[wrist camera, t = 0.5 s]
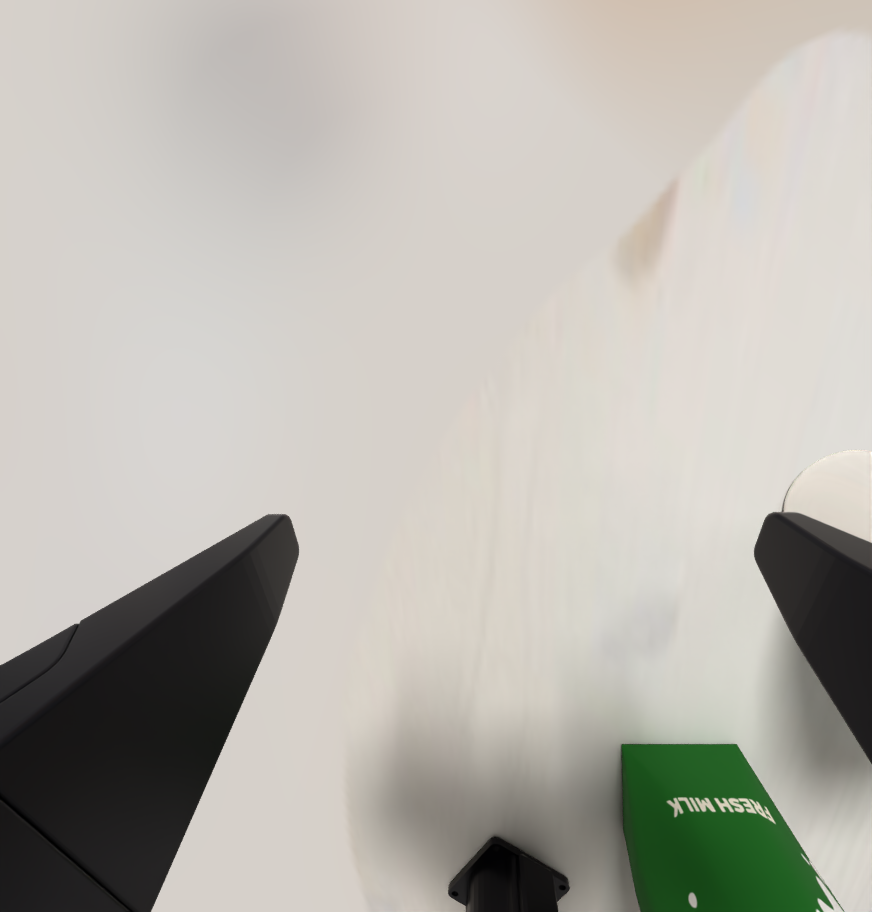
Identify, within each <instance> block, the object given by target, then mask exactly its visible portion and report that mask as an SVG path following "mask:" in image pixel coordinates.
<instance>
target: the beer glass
mask: <svg viewBox="0 0 872 912" xmlns="http://www.w3.org/2000/svg"><path fill="white" fill-rule="evenodd" d="M783 512H797V513H801V514H803V515H806V516H808V517H811V518H813V519H816V520H818V521H820V522H823V523H825V524H828V525H830V526H832V527H835V528H837V529H840V530H842V531H845V532H847V533H849V534H852V535H854V536H857V537H859V538H861V539H864V540H866V541H869V542H871V543H872V451H867V450H848V451H842V452H837V453H834V454H831V455H828V456H826V457H824V458H821V459H820V460H818V461H816V462H814V463H813V464H811V465H810V466H809V467H807V468H806V469H805V470H804V471H803V472H802V473H801V474H800V475H799V476H798V477H797V478H796V479H795V481H794V482H793V484H792V485H791V487H790V489H789V491H788V493H787V496H786V499H785V502H784V510H783Z"/></svg>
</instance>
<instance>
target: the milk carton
mask: <svg viewBox="0 0 872 912" xmlns="http://www.w3.org/2000/svg"><path fill="white" fill-rule="evenodd" d="M622 787H623V831H624V836H625V840H626V845H627V850H628V855H629V860H630V866H631V871H632V877H633V882H634V887H635V892H636V896H637V900H638V904H639V907H640V911H641V912H844V910H843V909H842V907H841V906H840V904H839V903H838V901H837V900H836V898H835V897H834V895H833V894H832V892H831V891H830V889H829V888H828V886H827V885H826V884H825V882H824V881H823V879H822V878H821V876H820V875H819V873H818V872H817V870H816V869H815V867H814V866H813V864H812V863H811V861H810V860H809V858H808V857H807V855H806V854H805V852H804V850H803V849H802V847H801V846H800V844H799V842H798V841H797V839H796V838H795V836H794V835H793V833H792V831H791V830H790V828H789V827H788V825H787V823H786V822H785V820H784V819H783V817H782V816H781V814H780V812H779V811H778V809H777V808H776V806H775V805H774V803H773V801H772V800H771V798H770V797H769V795H768V793H767V792H766V790H765V789H764V787H763V785H762V784H761V782H760V781H759V779H758V778H757V776H756V774H755V773H754V771H753V770H752V768H751V766H750V765H749V763H748V762H747V760H746V758H745V757H744V755H743V754H742V752H741V751H740V749H739V747H738V746H737V744H622Z"/></svg>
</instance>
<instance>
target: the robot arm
mask: <svg viewBox="0 0 872 912" xmlns="http://www.w3.org/2000/svg"><path fill="white" fill-rule="evenodd" d="M298 555H299V545H298V542H297V538H296V535H295V532H294V528H293V525H292V521H291V519H290V517H289V516H287V515H285V514H269V515H266V516H264V517H262V518H261V519H259V520H257V521H255V522H254V523H252V524H250V525H248V526H247V527H245V528H243V529H241V530H239V531H238V532H236V533H235V534H233V535H231V536H229V537H227V538H225V539H224V540H222V541H220V542H219V543H217V544H215V545H213V546H211V547H210V548H208V549H206V550H204V551H203V552H201V553H199V554H197V555H196V556H194V557H192V558H190V559H189V560H187V561H185V562H183V563H181V564H180V565H178V566H176V567H174V568H173V569H171V570H169V571H168V572H166V573H164V574H162V575H161V576H159V577H157V578H155V579H153V580H152V581H150V582H148V583H146V584H145V585H143V586H141V587H140V588H138V589H136V590H134V591H132V592H131V593H129V594H127V595H125V596H124V597H122V598H120V599H119V600H117V601H115V602H113V603H111V604H109V605H108V606H106V607H104V608H102V609H101V610H99V611H97V612H95V613H94V614H92V615H90V616H88V617H87V618H85V619H83V620H82V621H81V622H80V624H74V625H72V626H70V627H69V628H67V629H65V630H64V631H62V632H60V633H58V634H56V635H55V636H53V637H51V638H50V639H48V640H46V641H44V642H42V643H40V644H39V645H37V646H35V647H33V648H31V649H30V650H28V651H26V652H24V653H22V654H21V655H19V656H17V657H15V658H13V659H12V660H10V661H8V662H6V663H4V664H2V665H0V912H151V910H152V908H153V906H154V904H155V901H156V899H157V897H158V894H159V892H160V890H161V887H162V885H163V883H164V881H165V878H166V876H167V874H168V871H169V869H170V867H171V865H172V862H173V860H174V858H175V855H176V853H177V851H178V849H179V847H180V844H181V842H182V840H183V837H184V835H185V833H186V830H187V828H188V826H189V823H190V821H191V819H192V817H193V815H194V812H195V810H196V808H197V805H198V803H199V801H200V799H201V796H202V794H203V792H204V789H205V787H206V785H207V782H208V780H209V778H210V776H211V774H212V771H213V769H214V767H215V764H216V762H217V760H218V757H219V755H220V753H221V750H222V748H223V746H224V744H225V742H226V739H227V737H228V735H229V732H230V730H231V728H232V726H233V723H234V721H235V719H236V717H237V714H238V712H239V710H240V707H241V705H242V703H243V700H244V698H245V696H246V694H247V691H248V689H249V687H250V685H251V682H252V680H253V678H254V675H255V673H256V671H257V668H258V666H259V664H260V662H261V659H262V657H263V655H264V653H265V650H266V648H267V646H268V643H269V641H270V639H271V637H272V634H273V632H274V629H275V627H276V624H277V622H278V619H279V616H280V613H281V610H282V607H283V604H284V600H285V597H286V594H287V591H288V588H289V585H290V582H291V578H292V575H293V572H294V569H295V566H296V563H297V560H298ZM754 557H755V560H756V563H757V565H758V567H759V569H760V571H761V573H762V575H763V577H764V579H765V581H766V583H767V585H768V587H769V590H770V592H771V594H772V596H773V598H774V600H775V602H776V604H777V606H778V608H779V610H780V612H781V614H782V616H783V618H784V620H785V622H786V624H787V626H788V628H789V630H790V632H791V634H792V636H793V637H794V639H795V641H796V643H797V645H798V646H799V648H800V650H801V651H802V653H803V655H804V656H805V658H806V660H807V661H808V663H809V664H810V666H811V668H812V669H813V671H814V672H815V674H816V676H817V677H818V679H819V680H820V682H821V684H822V685H823V687H824V688H825V690H826V692H827V693H828V695H829V696H830V698H831V700H832V701H833V703H834V704H835V706H836V708H837V709H838V711H839V712H840V714H841V716H842V717H843V719H844V720H845V722H846V724H847V725H848V727H849V728H850V730H851V732H852V733H853V735H854V736H855V738H856V740H857V741H858V743H859V744H860V746H861V748H862V749H863V751H864V752H865V754H866V756H867V757H868V759H869V760H870V762H871V764H872V543H871V542H869V541H866V540H864V539H861V538H859V537H857V536H854V535H852V534H849V533H847V532H845V531H842V530H840V529H837V528H835V527H832V526H830V525H828V524H825V523H823V522H820V521H818V520H816V519H813V518H811V517H808V516H806V515H803V514H801V513H797V512H773V513H770V514H768V515H767V517H766V518H765V520H764V523H763V525H762V528H761V531H760V534H759V536H758V539H757V542H756V545H755V548H754ZM569 889H570V887H569V881H568V879H567V878H566V877H565V876H563V875H562V874H560V873H558V872H556V871H555V870H553V869H551V868H550V867H548V866H546V865H545V864H543V863H541V862H539V861H538V860H536V859H534V858H533V857H531V856H529V855H527V854H526V853H524V852H522V851H521V850H519V849H517V848H515V847H514V846H512V845H510V844H509V843H507V842H505V841H503V840H502V839H500V838H498V837H493V838H491V839H490V840H489V841H488V842H487V843H486V844H485V845H484V846H483V848H482V849H481V850H480V851H479V852H478V853H477V854H476V855H475V856H474V857H473V859H472V860H471V861H470V862H469V863H468V864H467V865H466V866H465V867H464V868H463V870H462V871H461V872H460V873H459V874H458V875H457V876H456V877H455V878H454V880H453V881H452V882H451V883H450V884H449V890H448V894H449V896H450V897H451V898H453V899H455V900H456V901H458V902H460V903H462V904H463V905H465V906H466V912H558V906H557V902H558V901H559V900H560V899H561V898H562V897H563V896H564V895H565V894H566V893H567V892H568V891H569Z"/></svg>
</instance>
